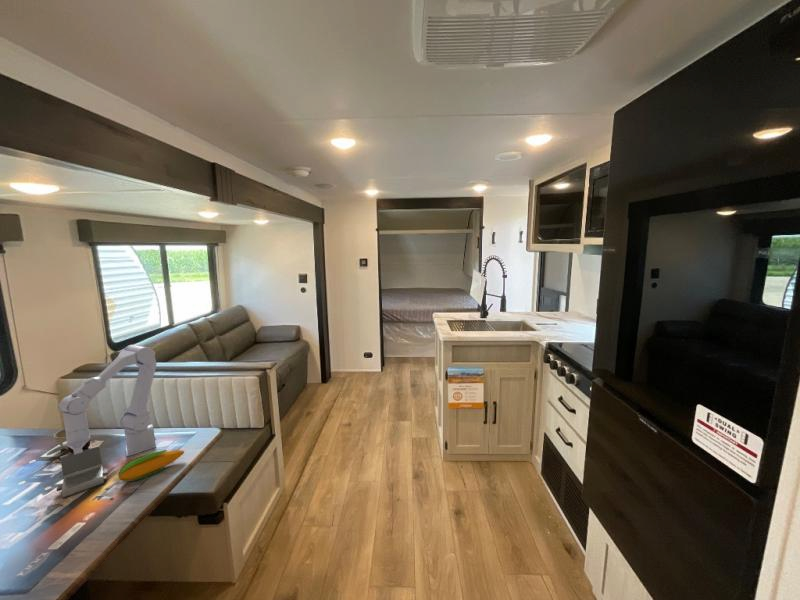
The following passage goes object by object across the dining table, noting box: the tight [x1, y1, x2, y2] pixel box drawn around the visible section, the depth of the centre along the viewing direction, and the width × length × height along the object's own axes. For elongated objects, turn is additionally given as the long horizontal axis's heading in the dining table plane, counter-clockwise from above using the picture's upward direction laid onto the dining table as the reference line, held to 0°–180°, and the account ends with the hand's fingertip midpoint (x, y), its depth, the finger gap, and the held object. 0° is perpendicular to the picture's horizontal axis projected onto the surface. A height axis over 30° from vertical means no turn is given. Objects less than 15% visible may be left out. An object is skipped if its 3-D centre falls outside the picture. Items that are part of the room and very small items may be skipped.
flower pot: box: [53, 428, 69, 451], centre depth 134 cm, size 10×10×7 cm
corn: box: [117, 449, 185, 482], centre depth 121 cm, size 7×8×20 cm
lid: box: [59, 444, 103, 478], centre depth 115 cm, size 10×8×2 cm
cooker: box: [56, 465, 109, 500], centre depth 113 cm, size 13×8×3 cm, turn 133°
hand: (81, 462), depth 116 cm, fingers closed, pressing on lid
